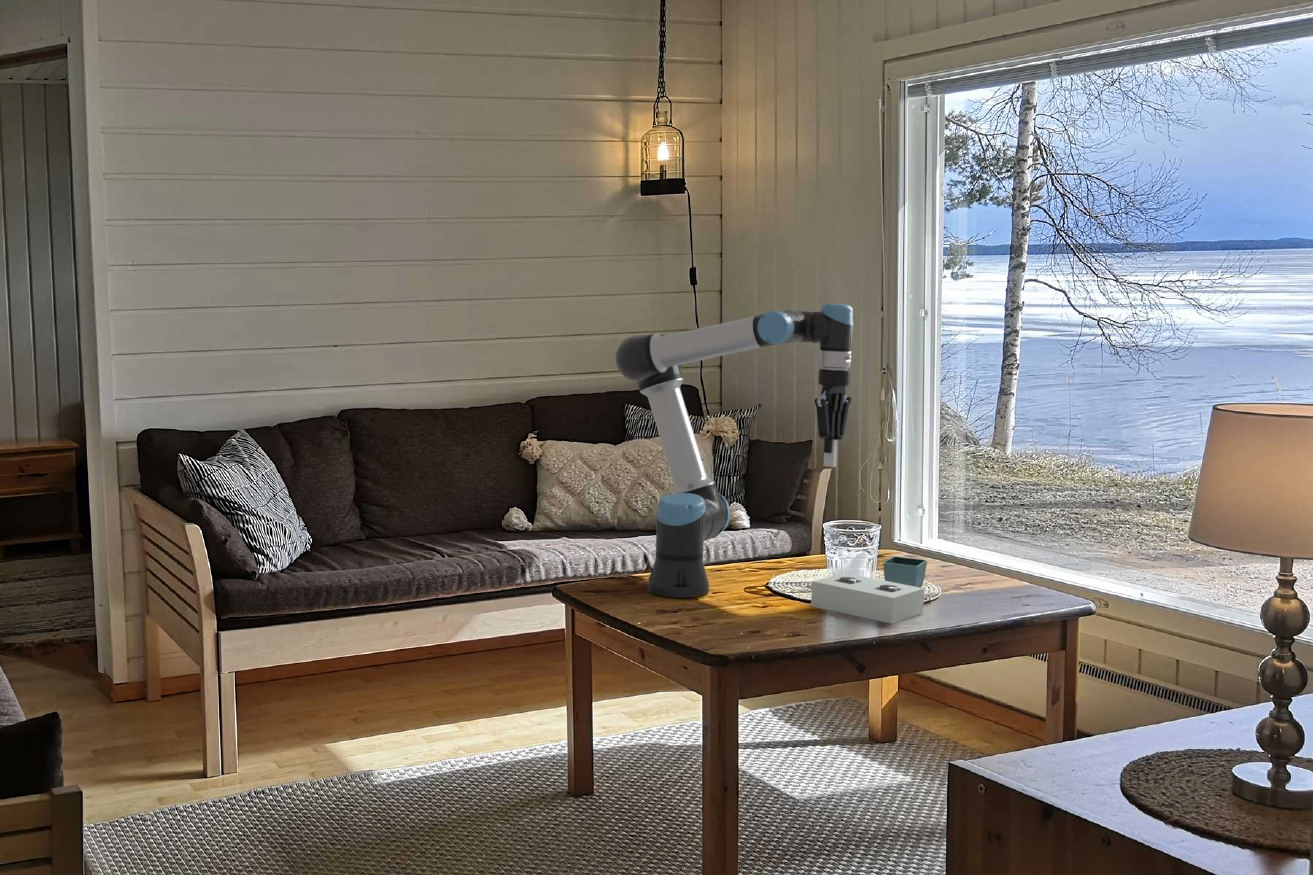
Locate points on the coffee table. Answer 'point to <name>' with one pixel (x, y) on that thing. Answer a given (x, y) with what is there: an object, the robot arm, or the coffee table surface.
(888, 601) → the peg block
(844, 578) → the left peg
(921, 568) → the flower pot
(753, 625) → the coffee table surface
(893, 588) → the right peg
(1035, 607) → the coffee table surface
